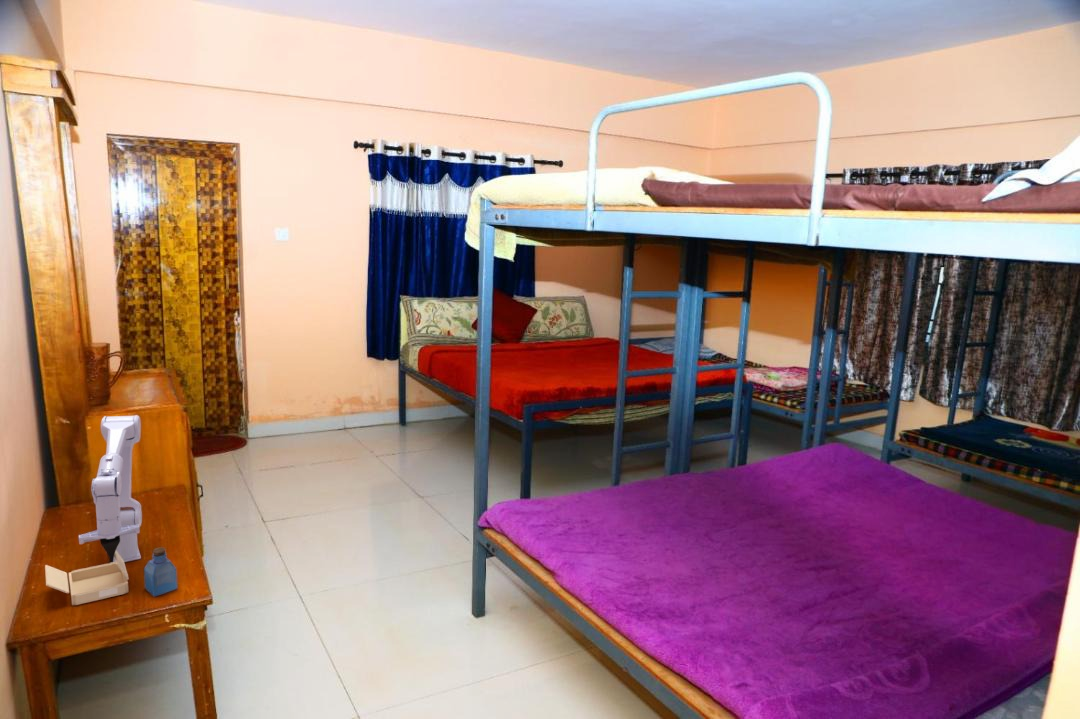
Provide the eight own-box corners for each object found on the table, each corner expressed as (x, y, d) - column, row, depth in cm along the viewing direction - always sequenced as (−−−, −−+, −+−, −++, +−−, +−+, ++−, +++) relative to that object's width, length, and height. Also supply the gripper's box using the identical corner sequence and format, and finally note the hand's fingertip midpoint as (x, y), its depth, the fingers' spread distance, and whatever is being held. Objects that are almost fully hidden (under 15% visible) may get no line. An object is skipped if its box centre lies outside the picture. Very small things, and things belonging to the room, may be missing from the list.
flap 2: (122, 561, 204) (111, 546, 202) (123, 560, 204) (113, 545, 202) (127, 579, 195) (116, 564, 192) (128, 579, 195) (117, 563, 193)
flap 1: (65, 573, 196) (44, 566, 193) (66, 572, 196) (45, 564, 193) (68, 593, 187) (46, 585, 183) (69, 592, 187) (47, 584, 183)
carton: (69, 581, 198) (68, 571, 198) (122, 569, 206) (121, 560, 206) (72, 606, 186) (71, 596, 186) (128, 593, 194) (128, 583, 194)
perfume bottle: (167, 580, 202) (165, 542, 200) (177, 588, 198) (175, 550, 196) (145, 588, 197) (142, 549, 195) (154, 596, 194) (152, 557, 191)
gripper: (78, 527, 187) (81, 573, 190) (140, 516, 195) (142, 560, 198) (77, 517, 192) (80, 562, 195) (136, 507, 201) (139, 550, 204)
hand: (111, 560), depth 197 cm, fingers closed, pressing on flap 2
